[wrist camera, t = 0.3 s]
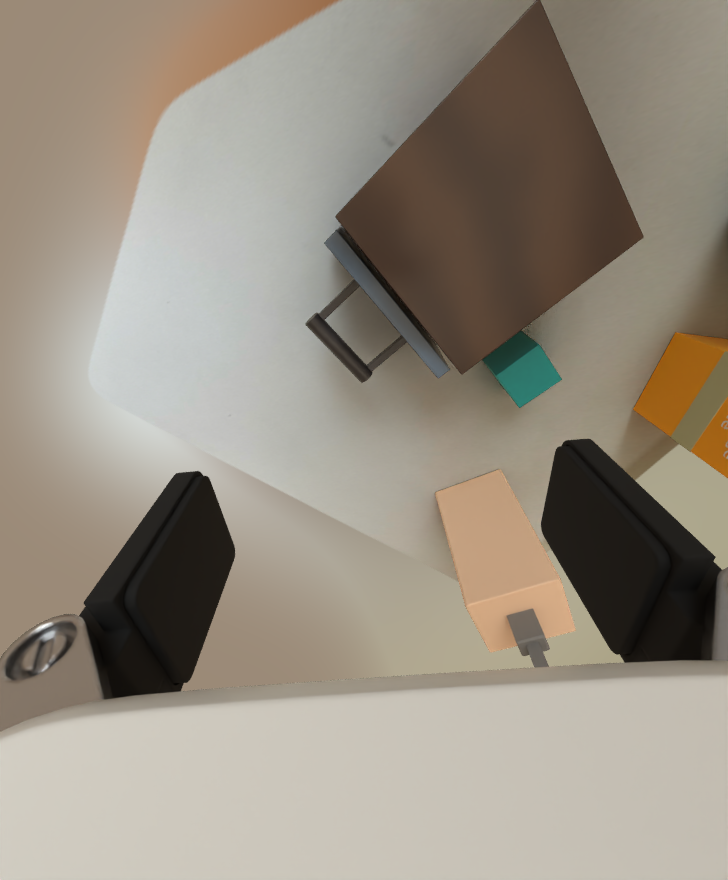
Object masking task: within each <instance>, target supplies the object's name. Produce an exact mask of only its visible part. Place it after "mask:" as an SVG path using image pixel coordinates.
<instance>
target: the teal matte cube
mask: <svg viewBox="0 0 728 880" xmlns="http://www.w3.org/2000/svg"><path fill="white" fill-rule="evenodd" d="M483 362H484V363H485V364H486V366H487V367H488V368H489V370H490V371H491V372H492V374H493V375H494V376H495V377H496V379H497V380H498V381H499V383H500V384H501V385H502V387H503V388H504V389H505V391H506V392H507V393H508V394H509V396H510V397H511V398H512V399H513V401H514V402H515V403H516V404H517V405H518V407H519V408H521V407H522V406H523V405H525V404H526V403H528V402H529V401H531V400H532V399H534V398H535V397H537V396H538V395H540V394H541V393H543V392H544V391H546V390H547V389H549V388H550V387H552V386H553V385H554V384H556V383H557V382H559V381H560V380H562V379H561V377H560V375H559V374H558V372H557V371H556V369H555V368H554V366H553V365H552V363H551V362H550V360H549V359H548V357H547V356H546V354H545V353H544V351H543V350H542V348H541V347H540V345H539V344H538V343H536V342H535V341H534V340H532V339H531V338H530V337H528V336H527V335H526V334H524V333H523V332H522V331H520V332H519V333H517V334H516V335H515V336H513V337H512V338H511V339H509V340H508V341H507V342H505V343H504V344H503V345H501V346H500V347H499V348H497V349H496V350H495V351H493V352H492V353H491V354H489V355H488V356H487V357H485V358H484V359H483Z"/></svg>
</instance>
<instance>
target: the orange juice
mask: <svg viewBox="0 0 728 880" xmlns="http://www.w3.org/2000/svg"><path fill="white" fill-rule="evenodd" d="M633 410H635V411H636V412H637V413H639V414H640V415H641V416H643V417H644V418H646V419H647V420H648V421H650V422H651V423H652V424H654V425H655V426H657V427H658V428H659V429H661V430H662V431H663V432H665V433H666V434H668V435H669V436H670V437H671V438H672V439H673V440H675V441H676V442H677V443H679V444H680V445H682V446H683V447H684V448H686V449H687V450H688V451H690V452H692V453H694V454H695V455H696V456H698V457H699V458H701V459H702V460H703V461H705V462H706V463H707V464H709V465H710V466H711V467H713V468H714V469H716V470H717V471H718V472H720V473H721V474H723V475H724V476H725V477H727V478H728V339H724V338H716V337H708V336H700V335H692V334H684V333H676V332H675V334H674V336H673V338H672V340H671V342H670V343H669V345H668V347H667V349H666V351H665V352H664V354H663V356H662V358H661V360H660V361H659V363H658V365H657V367H656V369H655V371H654V372H653V374H652V376H651V378H650V380H649V381H648V383H647V385H646V387H645V389H644V391H643V392H642V394H641V396H640V398H639V400H638V401H637V403H636V405H635V407H634V409H633Z"/></svg>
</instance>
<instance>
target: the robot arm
mask: <svg viewBox="0 0 728 880" xmlns="http://www.w3.org/2000/svg"><path fill="white" fill-rule="evenodd" d="M541 529H542V533H543V535H544V537H545V539H546V541H547V542H548V544H549V546H550V548H551V549H552V551H553V553H554V554H555V556H556V557H557V559H558V561H559V563H560V565H561V566H562V568H563V570H564V571H565V573H566V575H567V576H568V578H569V580H570V581H571V583H572V585H573V587H574V588H575V590H576V592H577V593H578V595H579V597H580V599H581V600H582V602H583V604H584V605H585V607H586V609H587V611H588V612H589V614H590V616H591V617H592V619H593V621H594V622H595V624H596V626H597V628H598V629H599V631H600V633H601V634H602V636H603V638H604V639H605V641H606V643H607V645H608V646H609V648H610V649H611V650H612V651H613V652H614V653H615V654H620V655H621V657H622V659H623V660H624V662H625V663H607V664H587V665H571V666H555V667H536V668H520V669H502V670H487V671H469V672H455V673H438V674H422V675H406V676H392V677H376V678H360V679H345V680H330V681H317V682H316V681H315V682H302V683H287V684H273V685H258V686H245V687H230V688H216V689H205V690H204V689H203V690H192V691H181V689H182V686H183V683H187V682H188V681H189V680H190V678H191V677H192V674H193V672H194V669H195V666H196V664H197V661H198V658H199V655H200V652H201V650H202V647H203V644H204V641H205V639H206V636H207V633H208V630H209V628H210V625H211V622H212V619H213V617H214V614H215V611H216V608H217V605H218V603H219V600H220V597H221V594H222V591H223V589H224V586H225V583H226V581H227V578H228V575H229V572H230V569H231V566H232V564H233V561H234V558H235V548H234V544H233V541H232V539H231V536H230V533H229V530H228V528H227V525H226V522H225V519H224V517H223V514H222V511H221V509H220V506H219V503H218V501H217V498H216V495H215V492H214V490H213V487H212V484H211V482H210V479H209V478H208V477H207V476H203V475H202V474H201V472H199V471H195V472H183V473H176V474H175V475H174V477H173V478H172V479H171V481H170V482H169V483H168V485H167V486H166V488H165V489H164V490H163V492H162V493H161V495H160V496H159V497H158V499H157V500H156V502H155V503H154V505H153V506H152V507H151V509H150V510H149V512H148V513H147V514H146V516H145V517H144V518H143V520H142V521H141V523H140V524H139V525H138V527H137V528H136V530H135V531H134V533H133V534H132V535H131V537H130V538H129V540H128V541H127V542H126V544H125V545H124V547H123V548H122V549H121V551H120V552H119V554H118V555H117V556H116V558H115V559H114V561H113V562H112V563H111V565H110V566H109V568H108V569H107V571H106V572H105V573H104V575H103V576H102V577H101V579H100V580H99V582H98V583H97V584H96V586H95V587H94V589H93V590H92V592H91V593H90V594H89V596H88V597H87V599H86V600H85V601H84V604H85V606H86V607H85V608H84V610H83V611H82V612H81V614H80V615H79V616H77V615H75V614H64V615H60V616H56V617H52V618H50V619H48V620H46V621H43V622H41V623H39V624H37V625H36V626H34V627H33V628H31V629H29V630H28V631H26V632H25V633H24V634H23V635H21V636H20V637H19V638H18V639H17V640H15V641H14V642H13V643H12V644H11V645H10V647H9V648H8V649H7V650H6V651H5V652H4V653H3V655H2V656H1V658H0V880H728V567H727V568H725V569H724V570H721V568H719V567H718V566H717V565H716V564H715V563H714V562H713V561H714V559H715V556H714V555H713V554H712V553H711V552H710V551H709V550H707V548H706V547H704V546H703V545H702V544H701V543H700V542H699V541H698V540H697V539H696V538H695V537H694V536H693V535H692V534H691V533H690V532H689V531H687V529H685V528H684V527H683V526H682V525H681V524H680V523H679V522H678V521H677V520H676V519H675V518H674V517H673V516H672V515H671V514H669V513H668V512H667V511H666V510H665V509H664V508H663V507H662V506H661V505H660V504H659V503H658V502H657V501H656V500H655V499H654V498H653V497H652V496H651V495H649V494H648V493H647V492H646V491H645V490H644V489H643V488H642V487H641V486H640V485H639V484H638V483H637V482H636V481H635V480H634V479H633V478H631V477H630V476H629V475H628V474H627V473H626V472H625V471H624V470H623V469H622V468H621V467H620V466H619V465H618V464H617V463H616V462H615V461H613V460H612V459H611V458H610V457H609V456H608V455H607V454H606V453H605V452H604V451H603V450H602V449H601V448H600V447H599V446H598V445H597V444H596V443H594V442H593V441H592V440H591V439H579V440H567V441H565V442H564V443H563V444H562V446H560V447H557V449H556V451H555V456H554V461H553V466H552V471H551V476H550V481H549V486H548V491H547V496H546V501H545V506H544V511H543V516H542V521H541Z"/></svg>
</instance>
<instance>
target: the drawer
mask: <svg viewBox="0 0 728 880" xmlns="http://www.w3.org/2000/svg"><path fill="white" fill-rule="evenodd" d="M324 244H325V245H326V246H327V247H328V248H329V250H330V251H331V252H332V253H333V254H334V256H335V257H336V258H337V259H338V260H339V261H340V263H341V264H342V265H343V266H344V267H345V269H346V270H347V271H348V272H349V273H350V275H351V276H352V277H353V278H354V280H353V281H352V282H351V283H350V284H349V285H348V286H347V287H346V288H345V289H344V290H343V291H342V292H341V293H340V294H339V295H338V296H337V297H336V298H335V299H334V300H333V301H331V302H330V303H329V304H328V305H327V306H326V307H325V308H324V309H323V310H322V311H321V312H320V313H319V314H318V313H315V314H314V315H313V316H312V317H311V318H310V319H309V320H308V321H307V322H306V326H307V327H308V328H309V329H310V330H311V331H312V332H313V333H314V334H315V335H316V336H317V337H318V338H319V339H320V340H321V341H322V342H323V343H324V344H325V346H326V347H327V348H328V349H329V350H330V351H331V352H332V353H333V354H334V355H335V356H336V357H337V358H338V359H339V360H340V361H341V362H342V363H343V364H344V365H345V366H346V367H347V368H348V369H349V370H350V371H351V372H352V374H353V375H354V376H355V377H356V378H357V379H358V380H359V381H360V382H362V383H363V382H365V381H366V380H368V379H369V378H370V376H371V375H372V371H373V370H374V369H375V368H376V367H378V366H379V365H380V364H381V363H382V362H384V361H385V360H386V359H387V358H388V357H390V356H391V355H392V354H393V353H394V352H395V351H397V350H398V349H399V348H400V347H401V346H403V345H404V344H405V343H406V342H408V343H409V345H410V346H411V347H412V348H413V349H414V351H415V352H416V353H417V354H418V355H419V356H420V358H421V359H422V360H423V361H424V362H425V364H426V365H427V366H428V367H429V368H430V370H431V371H432V372H433V373H434V374H435V375H436V377H437V378H440V377H441V376H442V375H443V374H445V373H446V372H447V371H449V370H450V369H449V367H448V365H447V363H446V362H445V360H444V358H443V356H442V355H441V353H440V351H439V349H438V348H437V346H436V344H435V342H434V341H433V340H432V339H431V337H430V336H429V335H428V334H427V332H426V331H425V330H424V329H423V327H422V326H421V325H420V324H419V323H418V321H417V320H416V319H415V318H414V316H413V315H412V314H411V313H410V311H409V310H408V309H407V308H406V306H405V305H404V304H403V303H402V301H401V300H400V299H399V298H398V296H397V295H396V294H395V293H394V291H393V290H392V289H391V288H390V286H389V285H388V284H387V283H386V281H385V280H384V279H383V278H382V276H381V275H380V274H379V273H378V271H377V270H376V269H375V268H374V267H373V265H372V264H371V263H370V262H369V260H368V259H367V258H366V257H365V255H364V254H363V253H362V252H361V250H360V249H359V248H358V247H357V245H356V244H355V243H354V242H353V240H352V239H351V238H350V237H349V235H348V234H347V233H346V232H345V230H344V229H343V228H342V227H341V226H340V227H339V228H338V229H337V230H336V231H335V232H334V233H333V234H332V235H331V236H330V237H329V238H328V239H327V240H326V242H325V243H324ZM359 286H361V288H362V289H363V290H364V291H365V292H366V294H367V295H368V296H369V297H370V298H371V299H372V301H373V302H374V303H375V304H376V305H377V307H378V308H379V309H380V310H381V311H382V313H383V314H384V315H385V316H386V317H387V318H388V320H389V321H390V322H391V323H392V324H393V326H394V327H395V328H396V329H397V330H398V332H399V333H400V334H401V336H400V337H399V338H398V339H397V340H396V341H394V342H393V343H392V344H391V345H390V346H389V347H387V348H386V349H385V350H384V351H383V352H382V353H380V354H379V355H378V356H377V357H376V358H375V359H373V360H372V361H371V362H370V363H369V364H367V365H366V364H365V363H364V362H363V361H362V360H361V359H360V358H359V357H358V356H357V355H356V354H355V352H354V351H353V350H352V349H351V348H350V347H349V346H348V345H347V344H346V343H345V342H344V341H343V340H342V338H341V337H340V336H339V335H338V334H337V333H336V332H335V331H334V330H333V329H332V328H331V327H330V326H329V325H328V323H327V322H326V321H325V319H326V318H327V317H328V316H329V315H330V314H331V313H332V312H333V311H334V310H335V309H336V308H337V307H338V306H339V305H340V304H341V303H342V302H344V301H345V300H346V299H347V298H348V297H349V296H350V295H351V294H352V293H353V292H354V291H355V290H356V289H357V288H358V287H359Z"/></svg>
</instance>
